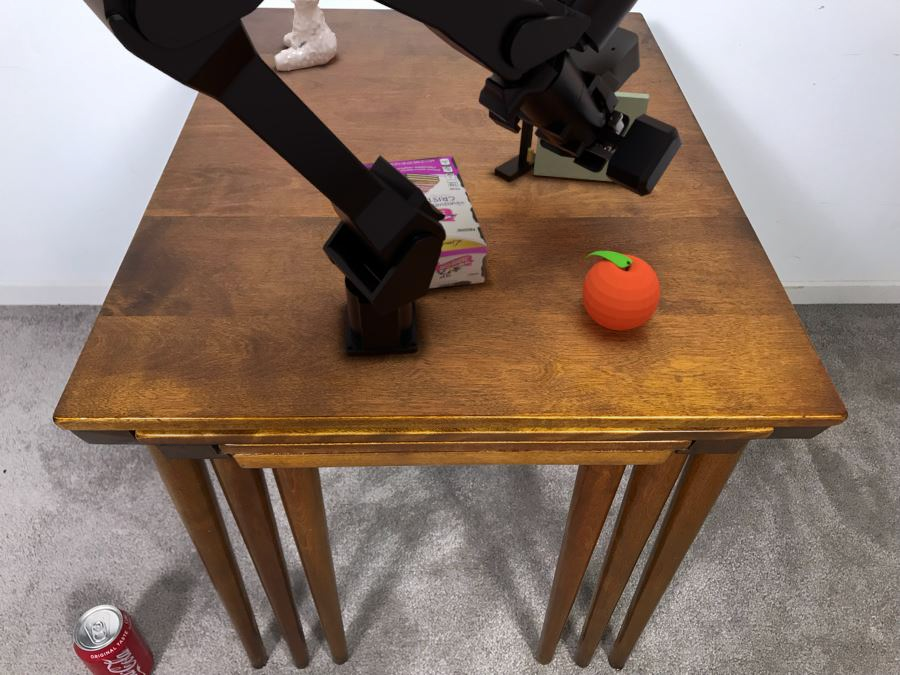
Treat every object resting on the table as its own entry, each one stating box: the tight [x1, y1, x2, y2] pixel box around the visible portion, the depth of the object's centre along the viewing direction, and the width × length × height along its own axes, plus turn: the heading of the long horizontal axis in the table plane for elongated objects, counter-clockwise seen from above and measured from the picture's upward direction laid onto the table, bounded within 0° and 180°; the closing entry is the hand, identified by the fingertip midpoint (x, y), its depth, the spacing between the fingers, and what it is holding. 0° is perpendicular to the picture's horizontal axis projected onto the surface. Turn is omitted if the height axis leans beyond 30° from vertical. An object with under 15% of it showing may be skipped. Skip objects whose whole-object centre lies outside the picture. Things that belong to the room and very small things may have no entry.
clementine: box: [581, 250, 661, 331], centre depth 65 cm, size 8×7×7 cm
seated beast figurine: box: [273, 0, 339, 72], centre depth 100 cm, size 10×9×12 cm
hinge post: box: [494, 120, 536, 183], centre depth 81 cm, size 6×3×12 cm, turn 135°
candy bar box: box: [363, 155, 488, 289], centre depth 73 cm, size 11×5×16 cm
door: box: [533, 91, 650, 182], centre depth 80 cm, size 1×11×10 cm, turn 83°
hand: (604, 157), depth 74 cm, fingers closed
